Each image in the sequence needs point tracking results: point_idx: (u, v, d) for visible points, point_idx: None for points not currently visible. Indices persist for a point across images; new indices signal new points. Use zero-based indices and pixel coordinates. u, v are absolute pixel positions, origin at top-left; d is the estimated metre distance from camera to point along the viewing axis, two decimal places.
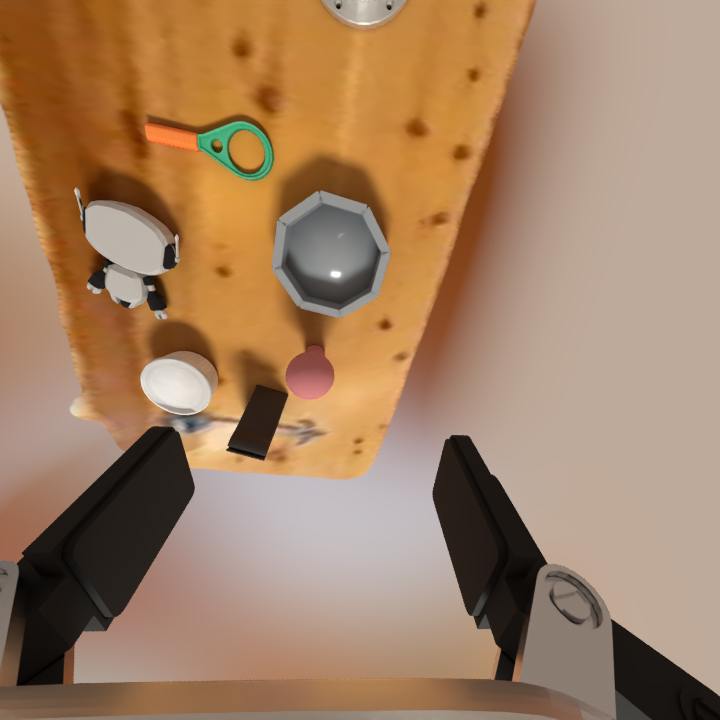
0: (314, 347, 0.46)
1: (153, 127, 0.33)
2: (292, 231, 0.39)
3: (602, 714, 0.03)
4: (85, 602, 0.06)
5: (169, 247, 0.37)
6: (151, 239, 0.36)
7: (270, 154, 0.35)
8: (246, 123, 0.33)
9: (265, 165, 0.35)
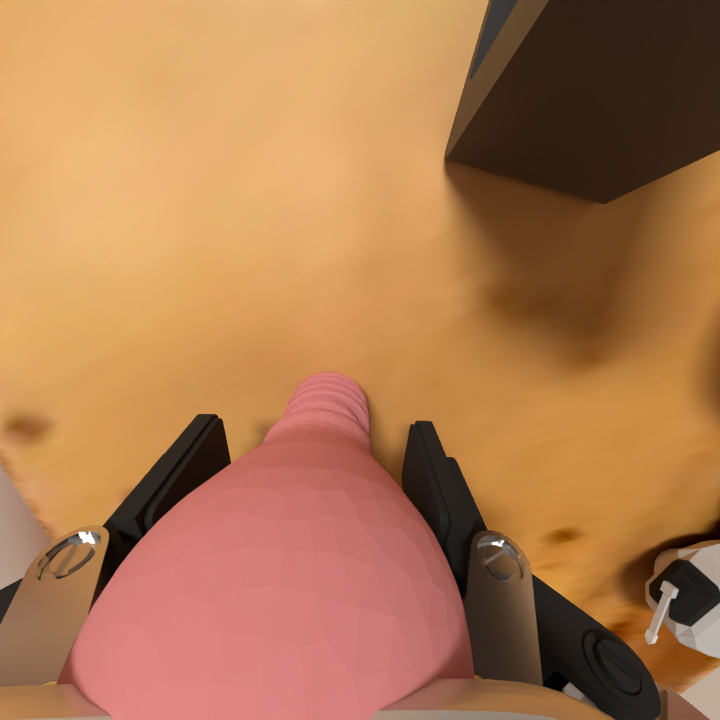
0: None
1: None
2: None
3: (602, 714, 0.03)
4: None
5: (677, 621, 0.17)
6: (712, 640, 0.16)
7: None
8: None
9: None
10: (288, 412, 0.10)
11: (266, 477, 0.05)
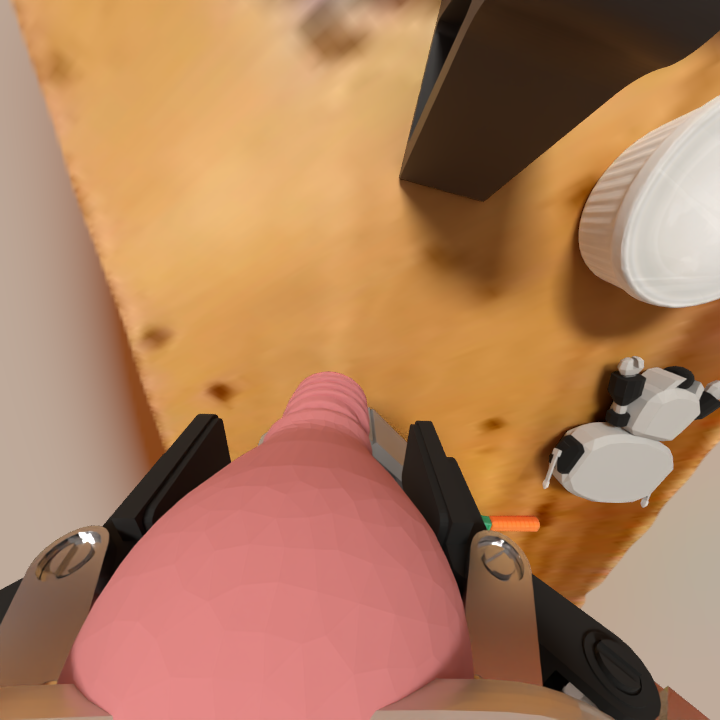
0: None
1: None
2: None
3: (602, 714, 0.03)
4: None
5: (561, 471, 0.26)
6: (582, 482, 0.26)
7: None
8: None
9: None
10: (288, 411, 0.10)
11: (267, 476, 0.05)
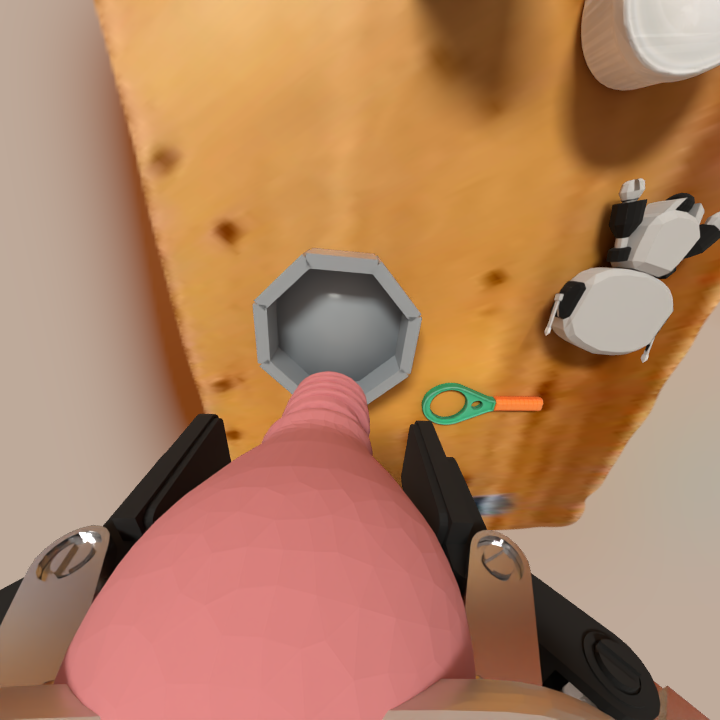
0: None
1: (533, 409, 0.35)
2: (393, 349, 0.30)
3: (602, 714, 0.03)
4: None
5: (563, 315, 0.27)
6: (583, 325, 0.26)
7: (424, 408, 0.35)
8: (444, 423, 0.36)
9: (430, 399, 0.34)
10: (288, 411, 0.10)
11: (265, 476, 0.05)
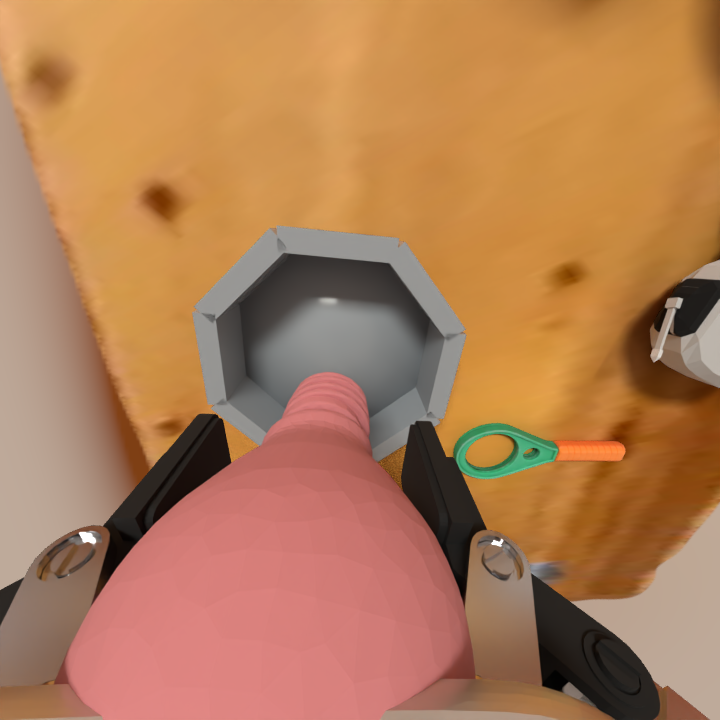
0: None
1: (610, 460, 0.25)
2: (413, 378, 0.21)
3: (602, 714, 0.03)
4: None
5: (682, 331, 0.17)
6: (716, 346, 0.17)
7: (457, 458, 0.25)
8: (484, 478, 0.26)
9: (467, 445, 0.24)
10: (288, 412, 0.10)
11: (266, 478, 0.05)
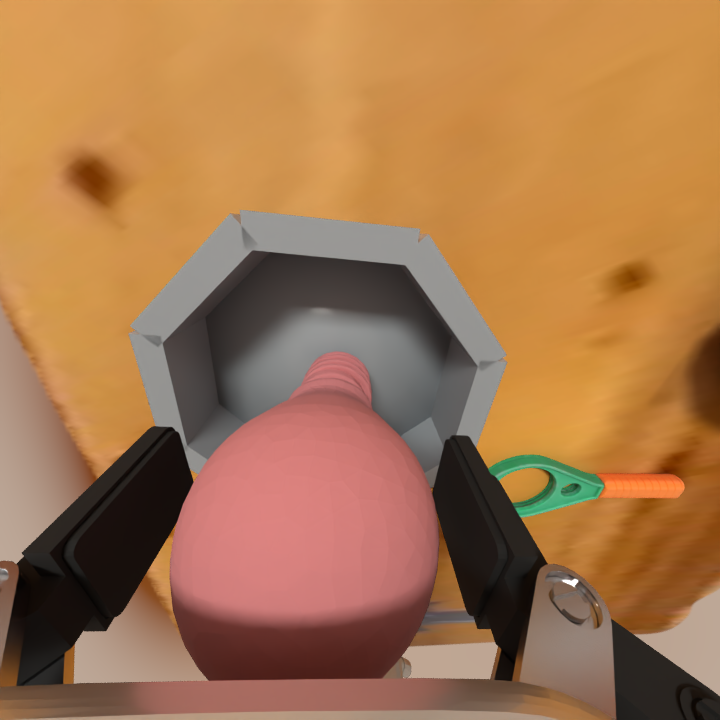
0: None
1: (665, 497, 0.21)
2: (428, 407, 0.17)
3: (602, 714, 0.03)
4: (84, 602, 0.06)
5: None
6: None
7: None
8: None
9: None
10: (305, 381, 0.13)
11: (300, 408, 0.07)
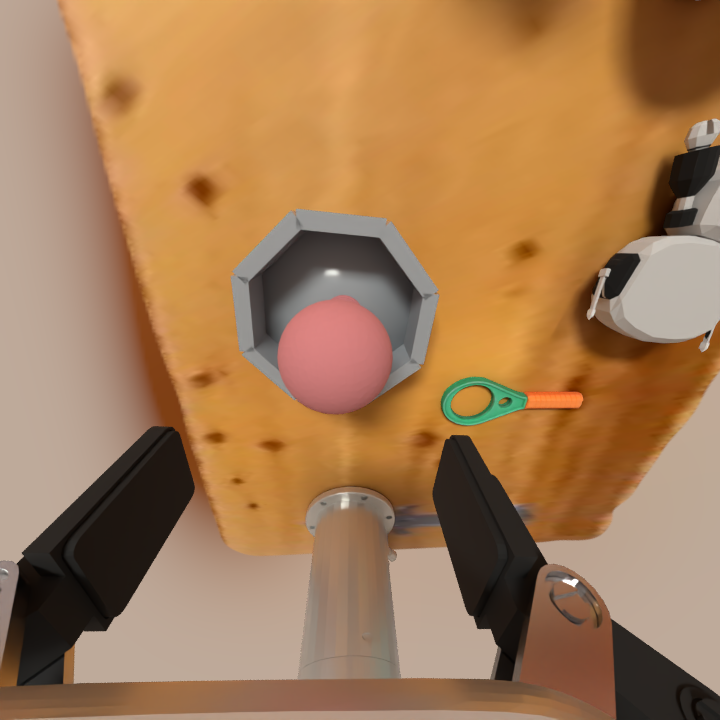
0: None
1: (570, 407, 0.30)
2: (401, 336, 0.26)
3: (603, 714, 0.03)
4: (84, 602, 0.06)
5: (610, 295, 0.22)
6: (635, 305, 0.22)
7: (444, 407, 0.30)
8: (467, 424, 0.31)
9: (452, 395, 0.30)
10: None
11: None
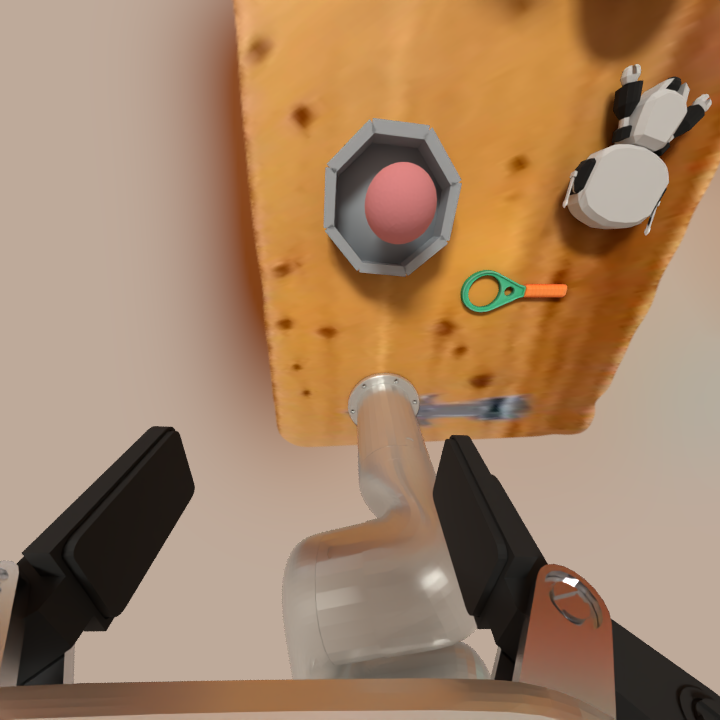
0: None
1: (558, 295, 0.40)
2: (431, 230, 0.36)
3: (602, 714, 0.03)
4: (84, 602, 0.06)
5: (578, 189, 0.32)
6: (595, 195, 0.32)
7: (463, 294, 0.40)
8: (480, 311, 0.41)
9: (469, 284, 0.39)
10: None
11: None
